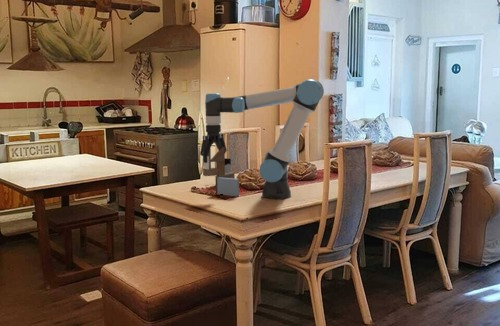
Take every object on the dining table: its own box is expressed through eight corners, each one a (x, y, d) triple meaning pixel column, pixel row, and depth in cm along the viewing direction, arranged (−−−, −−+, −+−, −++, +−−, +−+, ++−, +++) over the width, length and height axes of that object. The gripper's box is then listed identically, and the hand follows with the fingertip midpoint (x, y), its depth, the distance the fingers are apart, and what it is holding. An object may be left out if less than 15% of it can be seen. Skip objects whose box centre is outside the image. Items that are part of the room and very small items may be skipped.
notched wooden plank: (234, 190, 293) (234, 170, 291) (217, 194, 281) (217, 174, 279) (231, 189, 294) (231, 170, 292) (214, 194, 282) (214, 174, 280)
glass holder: (223, 186, 304) (222, 160, 301) (209, 182, 315) (208, 158, 312) (235, 184, 309) (234, 159, 307) (221, 181, 320) (220, 156, 318)
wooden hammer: (225, 175, 267) (224, 140, 264) (204, 176, 263) (204, 141, 261) (222, 173, 271) (222, 139, 268) (202, 175, 267) (202, 140, 264)
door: (220, 193, 283) (219, 176, 281) (240, 195, 277) (239, 178, 276) (217, 194, 280) (217, 177, 279) (237, 196, 275) (237, 179, 273)
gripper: (222, 122, 274) (222, 164, 278) (192, 125, 256) (193, 169, 259) (233, 123, 270) (233, 165, 273) (203, 126, 252) (204, 171, 255)
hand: (213, 167), depth 266 cm, fingers closed on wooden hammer, 11 cm apart
